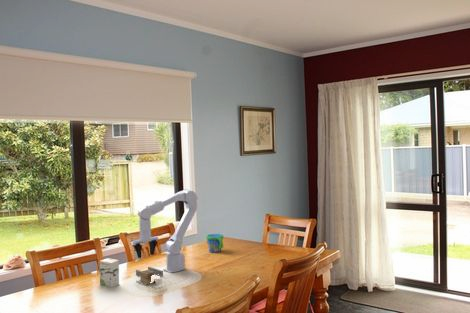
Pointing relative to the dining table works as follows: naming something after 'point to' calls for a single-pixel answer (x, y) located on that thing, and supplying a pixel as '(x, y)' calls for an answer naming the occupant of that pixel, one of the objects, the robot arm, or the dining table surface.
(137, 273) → the channel
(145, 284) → the pad
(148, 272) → the walnut block
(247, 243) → the dining table surface
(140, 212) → the robot arm
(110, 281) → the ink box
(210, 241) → the snack cup
